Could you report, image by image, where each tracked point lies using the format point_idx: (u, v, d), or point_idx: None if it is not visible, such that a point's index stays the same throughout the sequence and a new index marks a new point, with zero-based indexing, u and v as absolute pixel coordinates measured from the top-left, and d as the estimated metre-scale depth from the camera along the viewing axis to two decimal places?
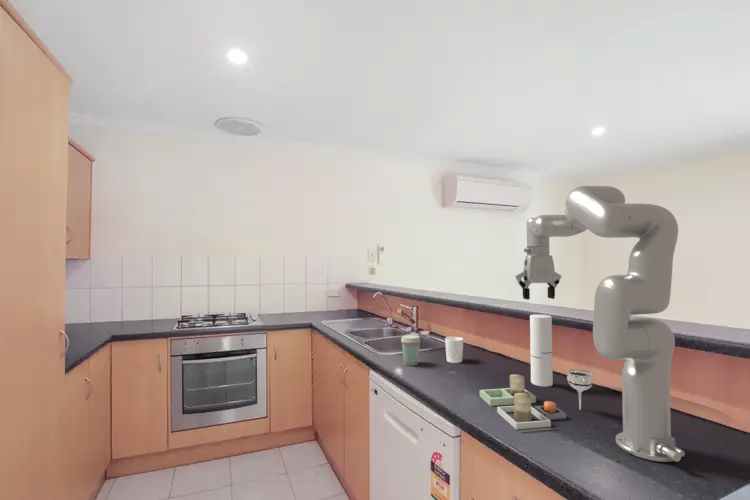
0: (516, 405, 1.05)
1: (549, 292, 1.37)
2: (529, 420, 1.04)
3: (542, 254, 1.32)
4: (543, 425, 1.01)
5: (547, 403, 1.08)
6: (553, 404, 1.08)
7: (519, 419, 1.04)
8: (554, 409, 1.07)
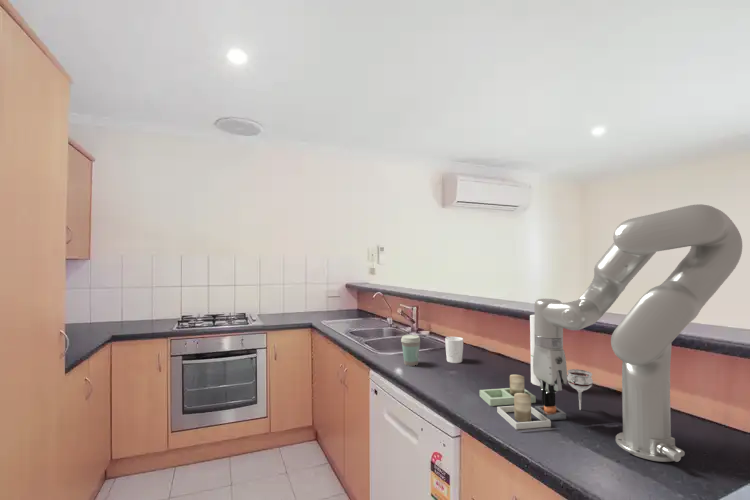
0: (516, 405, 1.05)
1: None
2: (529, 420, 1.04)
3: None
4: (543, 425, 1.01)
5: None
6: (553, 406, 1.07)
7: (519, 419, 1.04)
8: (554, 411, 1.07)
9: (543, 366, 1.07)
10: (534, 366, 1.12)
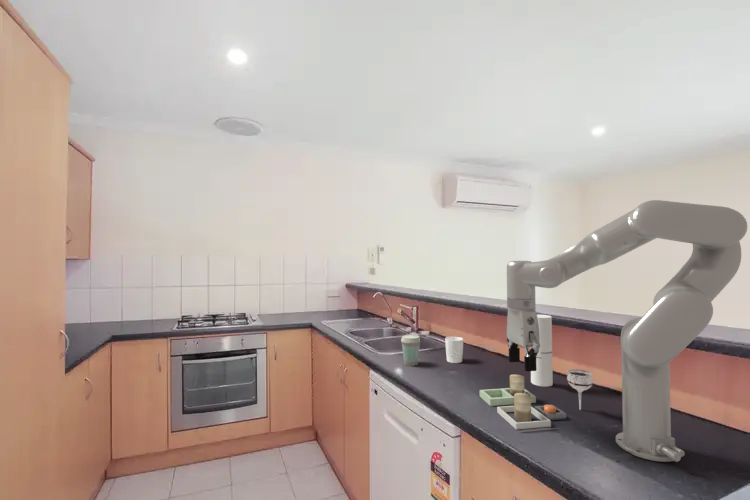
0: (516, 405, 1.05)
1: (513, 355, 1.10)
2: (529, 420, 1.04)
3: None
4: (543, 425, 1.01)
5: (547, 407, 1.08)
6: (553, 408, 1.07)
7: (519, 419, 1.04)
8: None
9: (515, 328, 1.05)
10: (508, 330, 1.10)
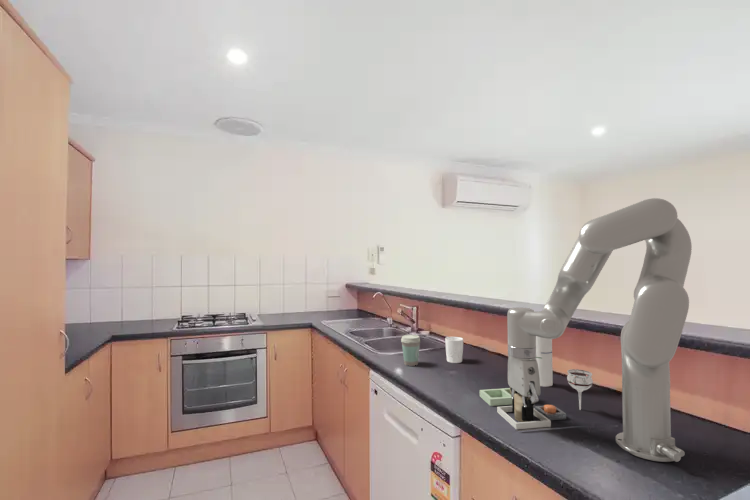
0: (516, 405, 1.05)
1: None
2: None
3: None
4: (543, 425, 1.01)
5: (547, 407, 1.08)
6: (553, 408, 1.07)
7: (519, 419, 1.04)
8: None
9: (516, 377, 1.05)
10: (508, 376, 1.09)
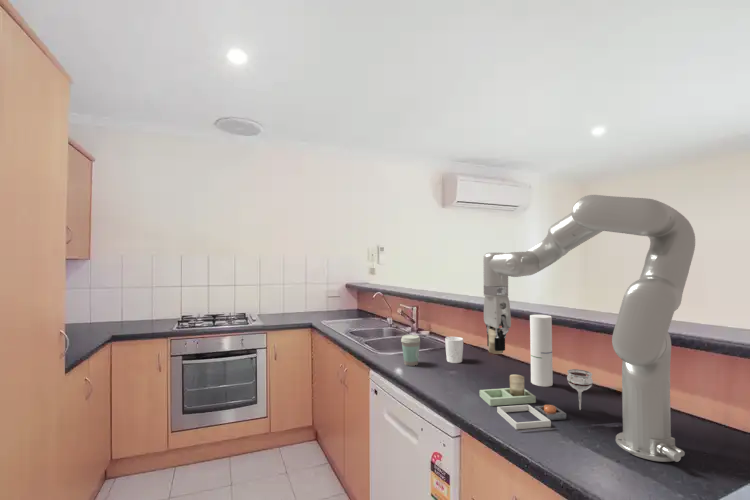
0: (490, 338, 1.19)
1: None
2: None
3: None
4: (543, 425, 1.01)
5: (547, 407, 1.08)
6: (553, 408, 1.07)
7: (492, 350, 1.18)
8: None
9: (490, 312, 1.18)
10: (484, 315, 1.23)
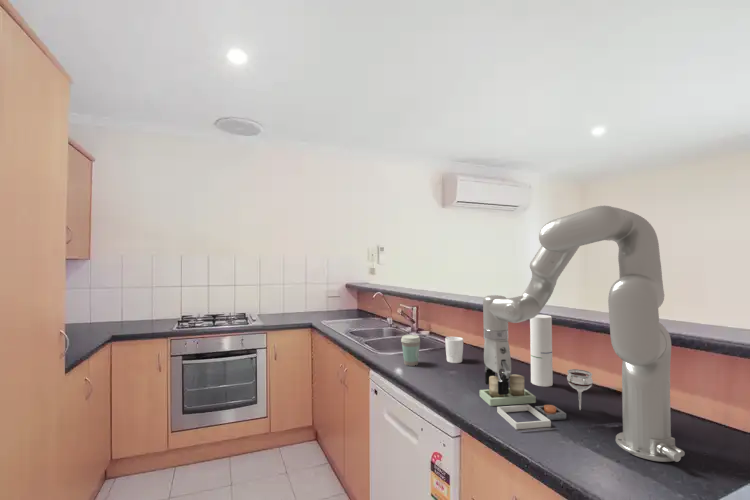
0: (490, 386, 1.19)
1: None
2: None
3: None
4: (543, 425, 1.01)
5: (547, 407, 1.08)
6: (553, 408, 1.07)
7: None
8: None
9: (490, 356, 1.18)
10: (484, 357, 1.23)
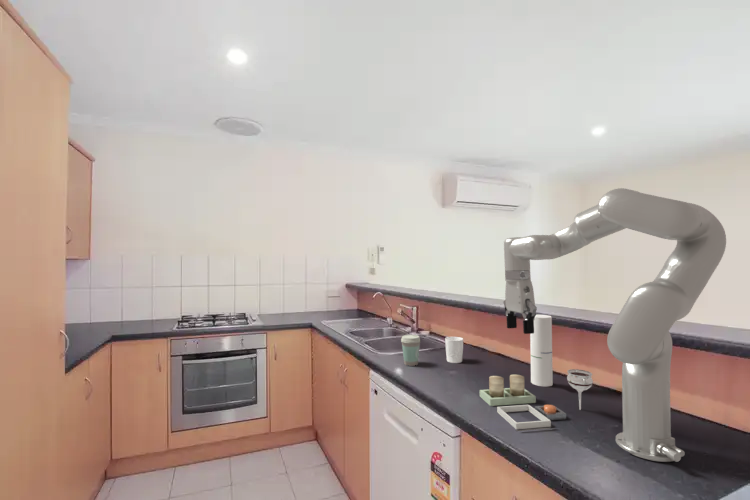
0: (490, 386, 1.19)
1: (511, 321, 1.23)
2: None
3: None
4: (543, 425, 1.01)
5: (547, 407, 1.08)
6: (553, 408, 1.07)
7: None
8: None
9: (513, 297, 1.17)
10: (506, 301, 1.22)
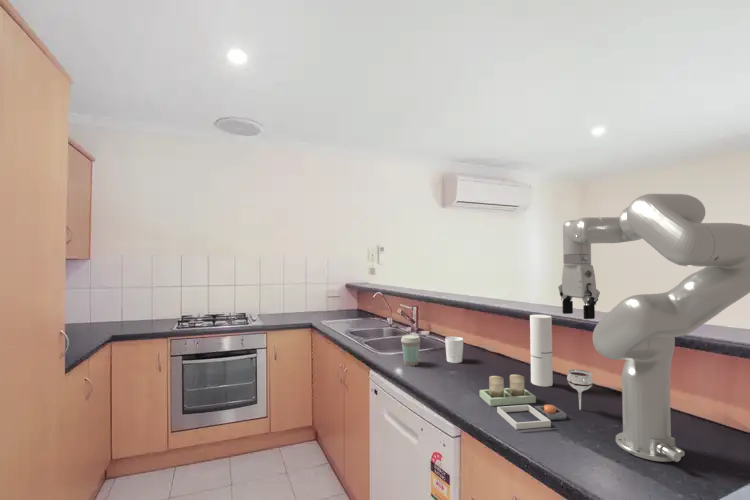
0: (490, 386, 1.19)
1: (567, 307, 1.20)
2: None
3: None
4: (543, 425, 1.01)
5: (547, 407, 1.08)
6: (553, 408, 1.07)
7: None
8: None
9: (573, 282, 1.14)
10: (563, 286, 1.19)
